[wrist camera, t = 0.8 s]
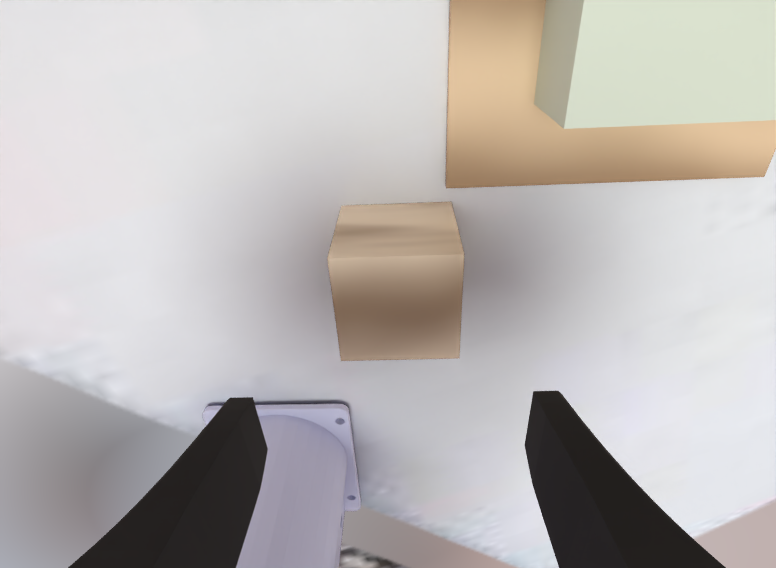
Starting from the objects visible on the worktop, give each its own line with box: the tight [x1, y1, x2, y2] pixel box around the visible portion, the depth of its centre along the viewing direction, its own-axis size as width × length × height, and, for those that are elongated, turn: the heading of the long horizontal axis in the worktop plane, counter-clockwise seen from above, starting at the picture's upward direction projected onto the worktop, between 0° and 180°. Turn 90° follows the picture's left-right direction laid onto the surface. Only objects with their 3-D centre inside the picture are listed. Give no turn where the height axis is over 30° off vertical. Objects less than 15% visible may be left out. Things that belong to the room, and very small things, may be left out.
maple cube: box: [327, 202, 464, 361], centre depth 18 cm, size 4×4×4 cm
